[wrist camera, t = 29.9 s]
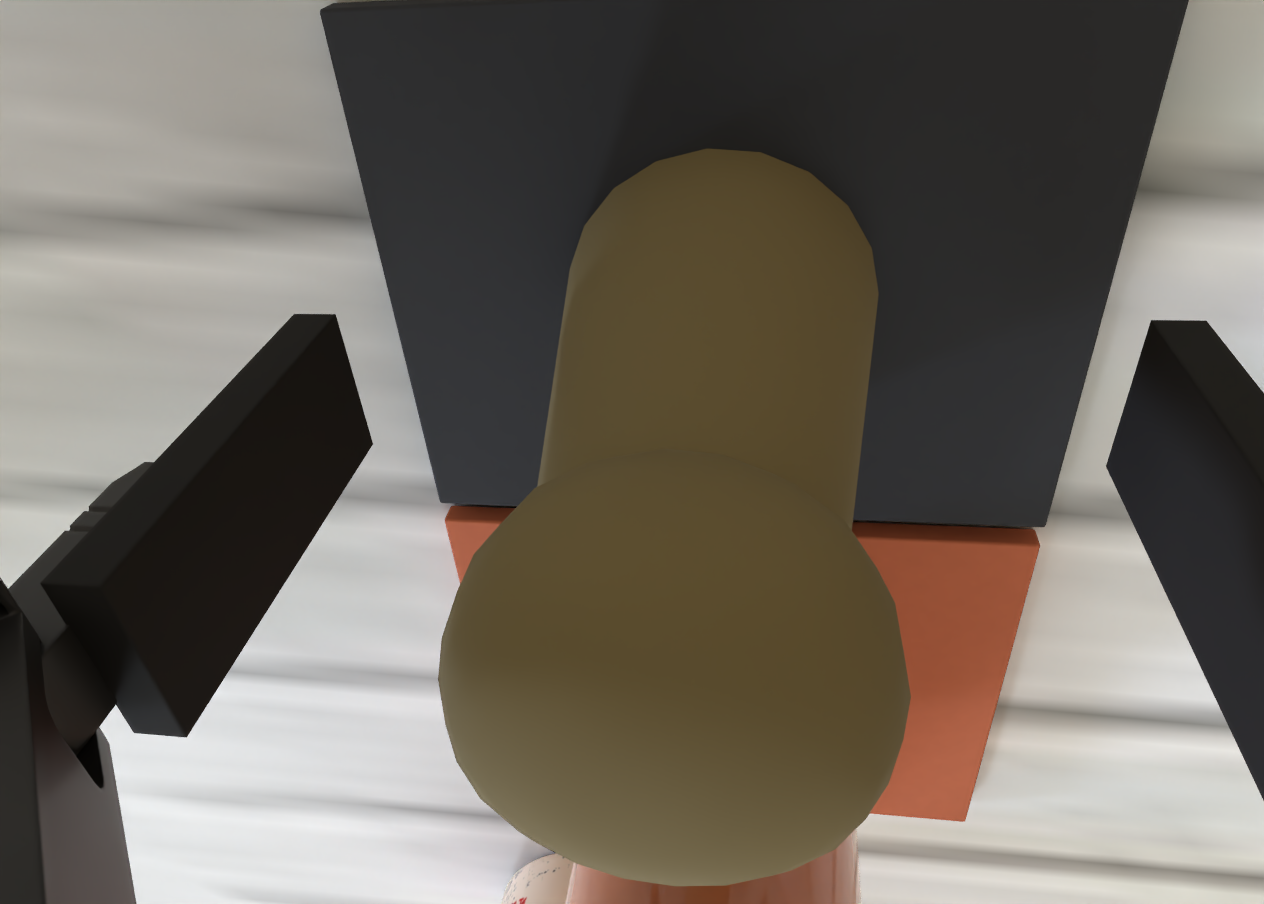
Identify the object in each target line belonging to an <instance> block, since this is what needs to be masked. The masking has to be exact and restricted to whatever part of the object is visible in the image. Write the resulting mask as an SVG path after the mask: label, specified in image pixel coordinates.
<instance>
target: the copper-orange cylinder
mask: <svg viewBox="0 0 1264 904" xmlns="http://www.w3.org/2000/svg"><path fill="white" fill-rule="evenodd" d="M565 904H861V890H860V875H859V859H858V844H857V829H855V830H854V831H853V832H852V833H851V834H850V835H849V836H848V837H847V838H846V839H845V840H844V841H843V842H842V843H841V844H840V845H839V846H838V847H837V848H836V849H835V850H833V851H831V852H829V853H827V854H825V855H823V856H820V857H818V858H816V859H814V860H812V861H810V862H808V863H806V864H804V865H802V866H800V867H798V868H796V869H793V870H791V871H788V872H784V873H781V874H777V875H773V876H769V877H764V878H759V879H754V880H750V881H745V882H740V883H735V884H730V885H726V886H669V885H662V884H656V883H649V882H642V881H636V880H629V879H623V878H620V877H617V876H614V875H611V874H607V873H604V872H601V871H598V870H595V869H592V868H589V867H586V866H583V865H579V864H576V863H574V862H573V867H572V872H571V877H570V882H569V887H568V892H567V897H566V902H565Z"/></svg>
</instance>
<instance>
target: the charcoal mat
mask: <svg viewBox="0 0 1264 904" xmlns="http://www.w3.org/2000/svg"><path fill="white" fill-rule="evenodd" d="M1188 1H1189V0H392V1H372V2H351V3H333V4H331V5H329V6H327V7H325V8H323V9H321V10H320V15H321V19H322V23H323V27H324V31H325V35H326V39H327V43H328V47H329V51H330V55H331V60H332V64H333V68H334V72H335V76H336V80H337V84H338V88H339V92H340V96H341V100H342V104H343V108H344V112H345V116H346V121H347V125H348V129H349V133H350V137H351V141H352V145H353V149H354V153H355V157H356V161H357V165H358V169H359V173H360V178H361V182H362V186H363V190H364V194H365V198H366V202H367V206H368V210H369V214H370V218H371V222H372V226H373V230H374V235H375V239H376V243H377V247H378V251H379V255H380V259H381V263H382V267H383V271H384V275H385V279H386V283H387V287H388V291H389V296H390V300H391V304H392V308H393V312H394V316H395V320H396V324H397V328H398V332H399V336H400V340H401V344H402V348H403V353H404V357H405V361H406V365H407V369H408V373H409V377H410V381H411V385H412V389H413V393H414V397H415V401H416V405H417V410H418V414H419V418H420V422H421V426H422V430H423V434H424V438H425V442H426V446H427V450H428V454H429V458H430V462H431V466H432V471H433V475H434V479H435V483H436V487H437V491H438V495H439V499H440V502H441V503H456V504H481V505H505V506H518V505H519V504H520V503H521V502H522V501H523V500H524V499H525V498H526V497H527V496H528V495H529V494H530V493H531V491H532V490H533V489H534V488H536V487H537V485H538V478H539V472H540V465H541V458H542V452H543V445H544V438H545V432H546V425H547V418H548V412H549V405H550V398H551V392H552V385H553V378H554V372H555V365H556V358H557V351H558V345H559V338H560V331H561V325H562V318H563V311H564V305H565V298H566V291H567V285H568V278H569V271H570V267H571V264H572V261H573V258H574V255H575V252H576V249H577V246H578V243H579V240H580V237H581V234H582V231H583V228H584V225H585V224H586V223H587V221H588V220H589V219H590V218H591V216H592V215H593V214H594V213H595V211H596V210H597V209H598V208H599V206H600V205H601V204H602V202H603V201H604V200H605V199H606V197H607V196H608V195H609V194H610V192H611V191H612V190H613V189H614V188H615V187H617V186H618V185H620V184H621V183H623V182H624V181H626V180H628V179H629V178H631V177H632V176H634V175H635V174H637V173H638V172H640V171H642V170H643V169H645V168H646V167H648V166H649V165H651V164H653V163H654V162H656V161H659V160H663V159H667V158H671V157H675V156H679V155H683V154H687V153H691V152H695V151H699V150H703V149H722V150H736V151H751V152H761V153H764V154H766V155H769V156H771V157H774V158H776V159H779V160H781V161H783V162H786V163H788V164H791V165H793V166H796V167H798V168H801V169H803V170H806V171H808V172H810V173H811V174H812V175H814V176H815V177H816V178H817V179H818V180H819V181H820V182H822V183H823V184H824V185H825V186H826V187H827V188H828V189H830V190H831V191H832V192H833V193H834V194H835V195H836V196H838V197H839V198H840V199H841V200H842V201H843V202H844V203H846V204H847V205H848V206H849V208H850V210H851V212H852V213H853V215H854V217H855V219H856V221H857V222H858V224H859V226H860V228H861V230H862V231H863V233H864V235H865V237H866V239H867V240H868V242H869V244H870V246H871V248H872V253H873V259H874V266H875V273H876V279H877V286H878V293H879V295H878V304H877V313H876V322H875V331H874V339H873V348H872V357H871V366H870V375H869V383H868V392H867V401H866V410H865V419H864V427H863V436H862V445H861V454H860V463H859V472H858V480H857V489H856V498H855V507H854V516H853V520H878V521H903V522H927V523H952V524H977V525H1002V526H1027V527H1045V525H1046V522H1047V518H1048V515H1049V511H1050V507H1051V504H1052V500H1053V496H1054V493H1055V489H1056V485H1057V482H1058V478H1059V474H1060V471H1061V467H1062V463H1063V460H1064V456H1065V452H1066V449H1067V445H1068V441H1069V438H1070V434H1071V430H1072V427H1073V423H1074V419H1075V415H1076V412H1077V408H1078V404H1079V401H1080V397H1081V393H1082V390H1083V386H1084V382H1085V379H1086V375H1087V371H1088V368H1089V364H1090V360H1091V357H1092V353H1093V349H1094V346H1095V342H1096V338H1097V335H1098V331H1099V327H1100V324H1101V320H1102V316H1103V313H1104V309H1105V305H1106V302H1107V298H1108V294H1109V291H1110V287H1111V283H1112V280H1113V276H1114V272H1115V269H1116V265H1117V261H1118V258H1119V254H1120V250H1121V247H1122V243H1123V239H1124V236H1125V232H1126V228H1127V225H1128V221H1129V217H1130V214H1131V210H1132V206H1133V203H1134V199H1135V195H1136V192H1137V188H1138V184H1139V181H1140V177H1141V173H1142V169H1143V166H1144V162H1145V158H1146V155H1147V151H1148V147H1149V144H1150V140H1151V136H1152V133H1153V129H1154V125H1155V122H1156V118H1157V114H1158V111H1159V107H1160V103H1161V100H1162V96H1163V92H1164V89H1165V85H1166V81H1167V78H1168V74H1169V70H1170V67H1171V63H1172V59H1173V56H1174V52H1175V48H1176V45H1177V41H1178V37H1179V34H1180V30H1181V26H1182V23H1183V19H1184V15H1185V12H1186V8H1187V4H1188Z"/></svg>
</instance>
